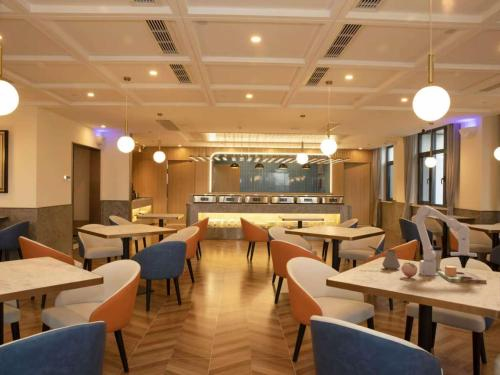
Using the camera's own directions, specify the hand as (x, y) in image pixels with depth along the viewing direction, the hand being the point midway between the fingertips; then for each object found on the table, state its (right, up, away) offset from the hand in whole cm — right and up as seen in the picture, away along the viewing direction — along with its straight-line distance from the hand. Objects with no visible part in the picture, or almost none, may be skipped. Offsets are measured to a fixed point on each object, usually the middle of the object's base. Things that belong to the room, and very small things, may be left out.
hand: (463, 267), depth 244 cm
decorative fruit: (-33, -6, 0) cm, 34 cm away
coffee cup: (-2, -7, +33) cm, 33 cm away
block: (-7, -5, +1) cm, 9 cm away
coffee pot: (-39, -6, +29) cm, 49 cm away
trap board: (-1, -7, 0) cm, 7 cm away
